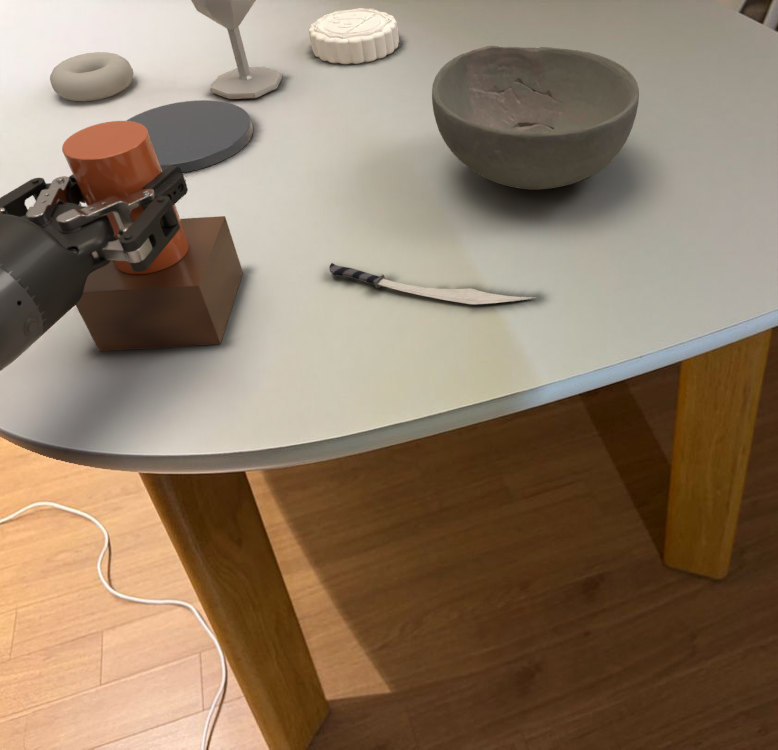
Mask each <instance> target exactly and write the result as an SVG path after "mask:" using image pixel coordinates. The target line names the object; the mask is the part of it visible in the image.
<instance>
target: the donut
mask: <svg viewBox="0 0 778 750" xmlns="http://www.w3.org/2000/svg"><path fill="white" fill-rule="evenodd" d="M133 78H134V70H133V67H132V66H131V64H130V62H129V60H127V59H126V57H124V56H121V55H120V54H117V53H113V52H106V51H94V52H88V53H87V52H86V53H83V54H78V55H75V56H72V57H69V58H67V59H65V60H62V61H61V62H59V63H57V65H55V67H53V69H52V71H51V73H50V74H49V81H50V85H51V87H52V89H53V91H54V92H55V93H56V94H57V95H59V96H60V97H62V98H64V99H65V100H69V101H74V102H91V101H99V100H102V99H107V98H109V97H113V96H115V95H117V94H119V93H121V92H122V91H124V90H126V89H127V88H128V87H129V86H130V84H131V83H132V81H133Z"/></svg>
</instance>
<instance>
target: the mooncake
mask: <svg viewBox="0 0 778 750" xmlns="http://www.w3.org/2000/svg"><path fill="white" fill-rule="evenodd" d="M308 35H309V40H310V46H311V51H312V52H313V55H314V56H315V57H316V58H319V59H320V60H321V61H323V62H329V63H331V64H341V65H350V64H355V65H357V64H363V63H370V62H374V61H375V60H379V59H383V58H386V56H387V55H391V54H393V53H394V51H395V50H396V49H398V48H399V43H400V35H399V29H398V22H397V20H396V19H395V16H394V15H392V14H389V13H388V12H385V11H379V10H377V9H375V8H365V7H364V8H363V7H359V8H353V9H348V10H347V9H346V10H335V11H333V12H331V13H327V14H326V13H325V14H323V16H322V17H319V18H317V19H316V20H315V21H314V22H312V23H311V24H310V28H308Z"/></svg>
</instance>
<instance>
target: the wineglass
mask: <svg viewBox="0 0 778 750" xmlns="http://www.w3.org/2000/svg"><path fill="white" fill-rule="evenodd" d="M190 1H191V3H192V5H193V6H194V8H195V10H196V12H198V13H200V14H202V15H203V16H205V17H207V18H208V19H210V20H212V21H213V22H215V23H216V24H218V25H220V26H222V27H223V28H225V29H227V33H228V37H229V41H230V45H231V48H232V52H233V57H234V60H235V63H236V68H234V69H232V70H229V71H227V72H225V73H222V74H219V75H218V76H217V77H216V79H215V80H214V82H213V83H212V85H211V86H210V91H211V93H213V94H216V95H217V96H220V97H223V98H226V99H228V100H238V99H239V100H240V99H257V98H260V97H261V96H263V95H266V94H268V93H270V92H272V91H274V90H276V89H277V88H278V86H279V85H280V83H281V80H282V79H283V73H282V71H278V70H275V69H273V68H270V67H267V66H249V62H248V58H247V55H246V51H245V47H244V42H243V39H242V35H241V32H240V25H241V24H242V22H243V21H244V19H245V18H246V16H247V15H248V13H249V12H250V10H251V9H252V7H253V5H255V3H256V1H257V0H190Z"/></svg>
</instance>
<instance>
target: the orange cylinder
mask: <svg viewBox="0 0 778 750" xmlns="http://www.w3.org/2000/svg"><path fill="white" fill-rule="evenodd" d="M61 150H62V153H63V155H64V158H65V160H66V162H67V165H68V167H69V169H70V171H71V173H72V174H73V176H74V178H75V180H76V182H77V184H78V187H79V189H80V191H81V193H82V195H83V198H84V200H85V202H86V203H85V204H86V206H90V205H92V204H94V203H96V202H99V201H101V200H103V199H106V198H108V197H110V196H116V197H118V198H120V199H122V198H124V197H127V196H129V195H131V194H133V193H136V192H138V191H140V190H143V187H144V186H145V185H147V184H148V183H149V182H150V181H152V180H153V179H154V178H155V177H156V176H157V175H159V174H160V173H161V172H162V171H163V170H162V168H161V165H160V162H159V160H158V157H157V154H156V151H155V149H154V146H153V143H152V140H151V138H150V135H149V132H148V130H147V128H146V127H145V126H144V125H142V124H140V123H137V122H132V121H127V120H112V121H105V122H100V123H97V124H93V125H90V126H87V127H85V128H82V129H80V130H77V131H76V132H74V133H72V134H71V135H70V136H69V137H68V138H66V139H65V141H64V142H63V144H62V146H61ZM173 209H174V211H175V214H176V217H177V219H178V222H179V225H180V229H179V231H178V232H177V233H176V234H175V236H174V237H173V238H172V239H171V241H170V242H169V243H168V244H167V245H166V247H165V248H164V249H163V250H162V252H161V253H160V254H159V255H158V257H157V258H156V259H155V260H154V262H153V263H152V264H151V265H150V267H149V268H148V269H146V270H144V271H141V272H134V271H133V270H132V269H131V266H130V264H129V262H128V261H115V260H112V262H113V264H114V266H115V267H116V268H117V269H118V270H120V271H122V272H124V273H128V274H148V273H153V272H157V271H160V270H163V269H166V268H168V267H170V266H172V265H174V264H175V263H177V262H178V261H180V260H181V259H182V258H183V257H184V256H185V255H186V253H187V252H188V249H189V242H188V239H187V236H186V233H185V231H184V228H183V225H182V222H181V220H180V219H181V216H180V215H179V212H178V209H177V206H176V203H175V204H174V205H173ZM142 212H143V209H142V206H139V207H137V208H135V209H133V210H132V211H131V212H130V215H131V217H132V220H133V221H134V220H136V219H137V218H138V217H139V215H140V214H141V213H142ZM107 216H108V218H109V221H110V223H111V225H112V227H113V230H114V236H115V235H117V234H118V233H119V226H118V223H117V221H116V219H115V216H114V214H113V212H112V213H109V214H107Z"/></svg>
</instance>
